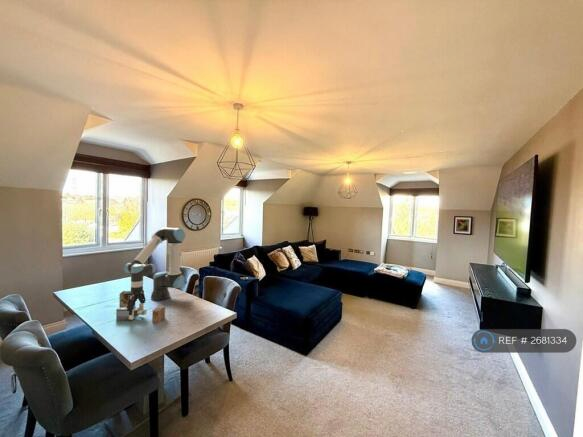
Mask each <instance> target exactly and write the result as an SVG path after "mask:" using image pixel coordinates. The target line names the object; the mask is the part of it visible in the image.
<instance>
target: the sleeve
mask: <svg viewBox="0 0 583 437" xmlns="http://www.w3.org/2000/svg"><path fill="white" fill-rule="evenodd" d="M135 308H137V306H136V305H135V306H134V308H133V310H134V309H135ZM115 315H116V317H115V318H116V320H115V321H116V322H131V321H133V320H132V319H129V311H127V306H121V307H120V306H119V307H118V308H116V312H115ZM136 318H137V317H134V319H136Z"/></svg>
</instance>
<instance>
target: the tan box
mask: <svg viewBox="0 0 583 437" xmlns="http://www.w3.org/2000/svg"><path fill="white" fill-rule="evenodd" d="M165 317H166V306H165V305H158V306H157V307H155V308H153V309H152V318H151V319H152V323H153V324H154V323H155V324H156V323H157V324H160V323H161V322H162V321H163V320H164V319H165Z"/></svg>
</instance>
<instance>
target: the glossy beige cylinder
mask: <svg viewBox="0 0 583 437" xmlns="http://www.w3.org/2000/svg"><path fill="white" fill-rule="evenodd" d="M147 312H148V310H147V309H144V310H141V308H139V307H136V308H135V309H134V317H136V318H137V317H139V316H140V315H142V316H143V315H147Z"/></svg>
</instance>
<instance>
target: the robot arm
mask: <svg viewBox="0 0 583 437" xmlns="http://www.w3.org/2000/svg"><path fill="white" fill-rule="evenodd" d="M185 238H186V233H185V230H184V229H183V228H180V227H173V226H172V227H168V226H165V227H164V226H163V227H162V228H160V229H158V230H157V231H155V232H154V233H153V234H152V236H151V239H150V240H149V241H148V242H147V243H146V245H145V246H144V247H143V249H142V250H141V251H140V252H139V253H138V255H136V257H135V258H134V259H133V260H132V261H131V262H128V263H126V264H125V265H124V268H123V269H124V272H126V273H129V274H130V291H131V292H132V293H133V294H132V296H129V302H128V306H127V311H129V319H132V320H131V321H133V320H134V319H135V318H134V310H133V308H134V305H135V306H136V302H137V301H139V307H138V308H141V310H145V309H144V307H145V306H144V304H145V303H146V300H147V299H146V296H145V290H144V277H145V276H148V275H152V274H153V282H152V283H153V288H152V289H153V290H152V292H151V295H150V299H151V300H152V301H155V302H158V301H164V300H167V299H169V298H170V297H171V294H170V291H169V288H171V289H180V288H181V287H182V286H183V285H184V282H185V276H184V275H183V274H182V271H181V270H180V269H181V268H180V267H181V244H182V243H183V242H184V240H185ZM164 241H167V244H168V245H169V250H168V251H169V256H168V259H169V260H168V261H169V262H168V263H169V264H168V271H167V270H166V271H159V272H156V271H157V265H156V264H154V263H149V264H148V263H147V264H146V263H145V262H146V261H147V260H148V259H149V257H151V255H152V254H153V253H154V251H155V250H156V249H157V248H158V246H159V245H160V244H163V242H164Z"/></svg>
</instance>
